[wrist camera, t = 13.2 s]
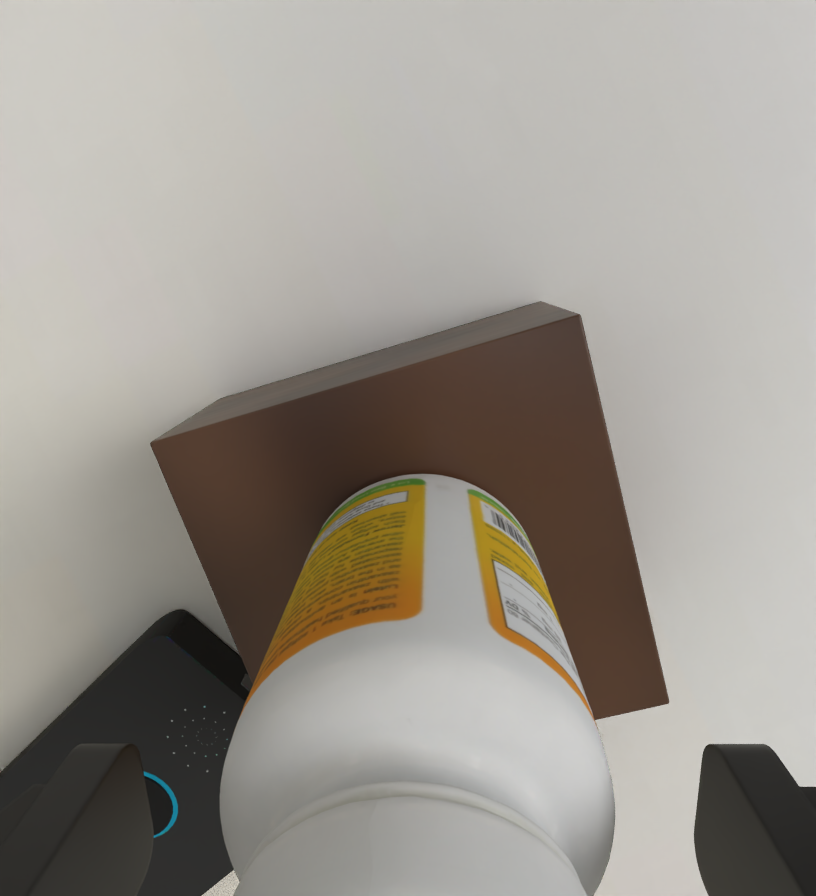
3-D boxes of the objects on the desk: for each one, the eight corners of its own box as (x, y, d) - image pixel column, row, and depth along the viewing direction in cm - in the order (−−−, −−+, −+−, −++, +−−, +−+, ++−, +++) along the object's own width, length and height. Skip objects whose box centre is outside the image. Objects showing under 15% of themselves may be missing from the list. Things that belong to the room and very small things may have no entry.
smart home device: (345, 788, 21) (-2, 1065, 25) (351, 750, 23) (25, 1016, 27) (151, 626, 20) (-180, 948, 24) (173, 598, 21) (-140, 904, 26)
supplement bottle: (293, 649, 16) (96, 1196, 7) (330, 445, 14) (142, 782, 5) (504, 692, 16) (604, 1290, 7) (563, 495, 15) (798, 912, 5)
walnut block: (542, 300, 18) (580, 313, 13) (615, 602, 21) (670, 704, 16) (219, 398, 19) (148, 443, 15) (326, 673, 22) (296, 787, 17)
